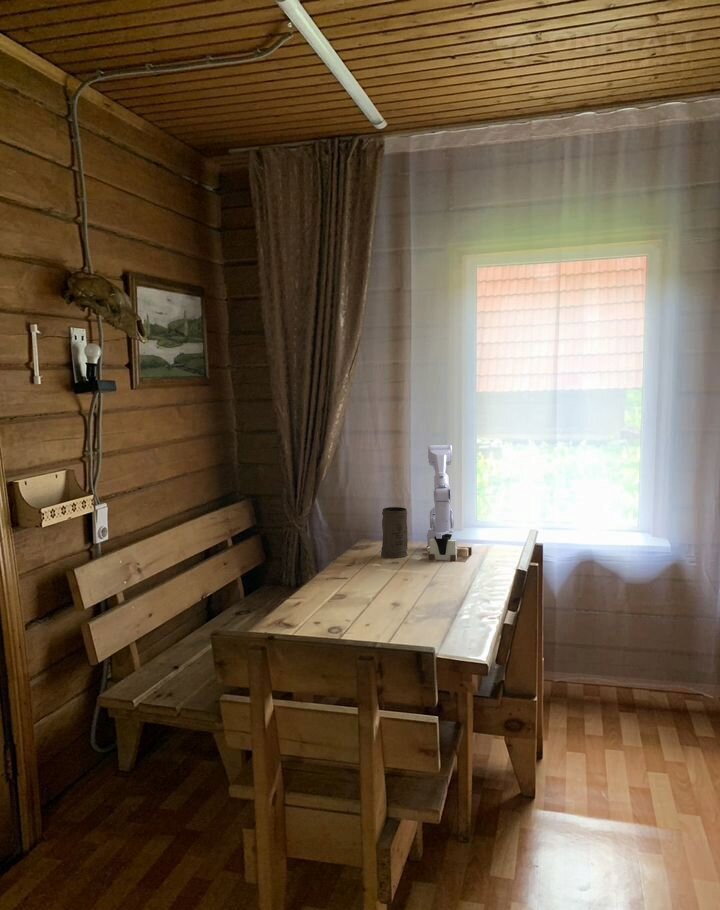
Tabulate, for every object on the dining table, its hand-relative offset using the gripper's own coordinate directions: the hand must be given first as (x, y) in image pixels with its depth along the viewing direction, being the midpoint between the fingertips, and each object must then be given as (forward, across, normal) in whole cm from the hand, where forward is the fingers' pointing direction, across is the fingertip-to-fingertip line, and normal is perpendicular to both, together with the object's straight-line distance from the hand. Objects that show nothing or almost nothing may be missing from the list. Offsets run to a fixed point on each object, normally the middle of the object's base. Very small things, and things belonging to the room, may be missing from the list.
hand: (443, 553), depth 269 cm
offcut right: (+2, +8, -5) cm, 9 cm away
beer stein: (+3, +4, +22) cm, 22 cm away
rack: (+3, +4, 0) cm, 5 cm away
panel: (+2, 0, 0) cm, 2 cm away
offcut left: (+2, +8, +5) cm, 9 cm away
